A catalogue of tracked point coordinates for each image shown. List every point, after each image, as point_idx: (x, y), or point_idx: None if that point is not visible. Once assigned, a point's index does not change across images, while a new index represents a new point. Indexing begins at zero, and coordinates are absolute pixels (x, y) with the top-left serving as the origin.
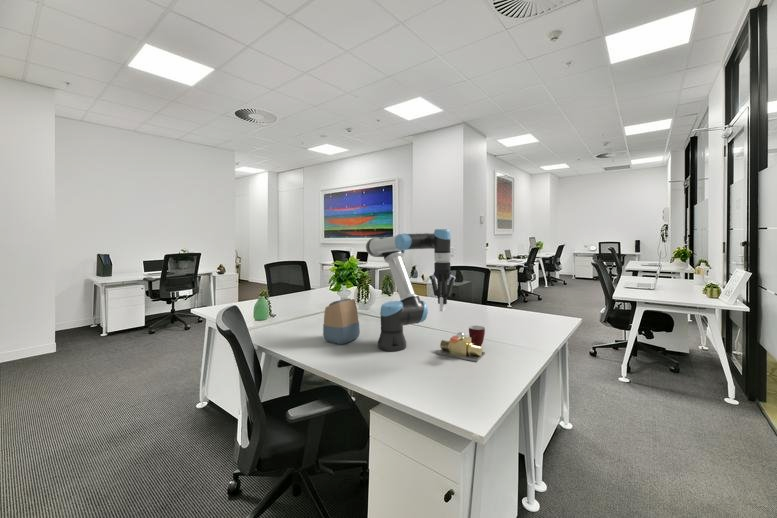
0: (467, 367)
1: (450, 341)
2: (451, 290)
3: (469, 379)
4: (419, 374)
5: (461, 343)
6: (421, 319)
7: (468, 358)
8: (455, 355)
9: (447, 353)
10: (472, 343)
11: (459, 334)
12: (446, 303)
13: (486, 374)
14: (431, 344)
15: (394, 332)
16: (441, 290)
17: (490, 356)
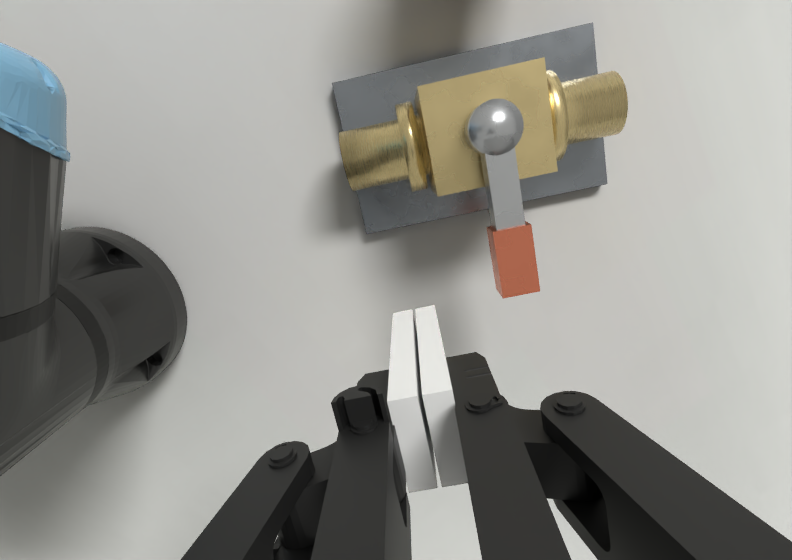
0: (593, 280)
1: (499, 290)
2: (688, 488)
3: (659, 385)
4: None
5: None
6: (68, 153)
7: (557, 193)
8: (477, 207)
9: (424, 211)
10: (565, 102)
11: (502, 162)
12: (482, 362)
13: (704, 292)
14: (228, 110)
15: (97, 390)
16: (393, 527)
17: (632, 40)
